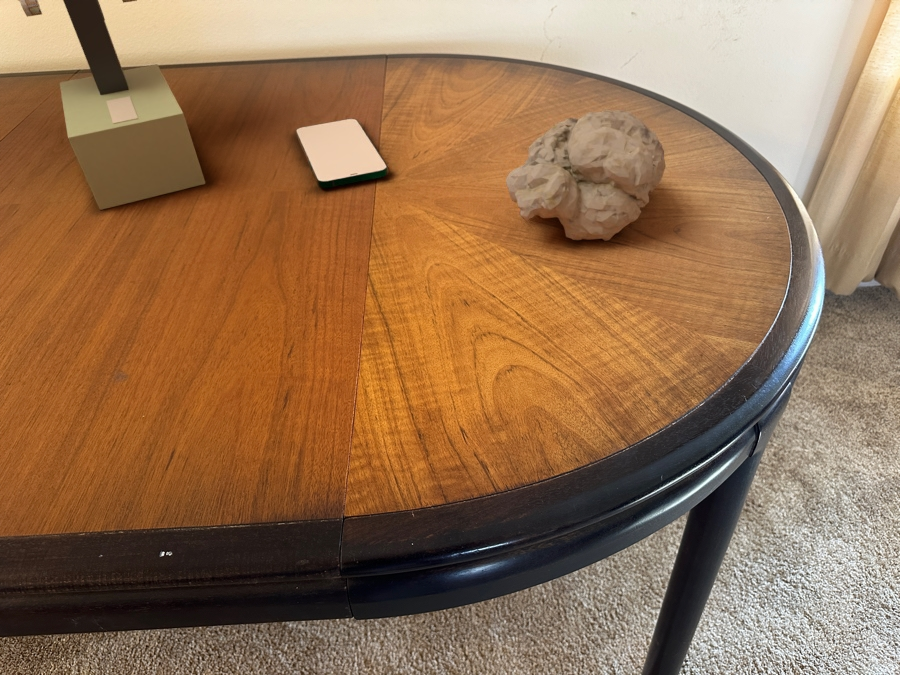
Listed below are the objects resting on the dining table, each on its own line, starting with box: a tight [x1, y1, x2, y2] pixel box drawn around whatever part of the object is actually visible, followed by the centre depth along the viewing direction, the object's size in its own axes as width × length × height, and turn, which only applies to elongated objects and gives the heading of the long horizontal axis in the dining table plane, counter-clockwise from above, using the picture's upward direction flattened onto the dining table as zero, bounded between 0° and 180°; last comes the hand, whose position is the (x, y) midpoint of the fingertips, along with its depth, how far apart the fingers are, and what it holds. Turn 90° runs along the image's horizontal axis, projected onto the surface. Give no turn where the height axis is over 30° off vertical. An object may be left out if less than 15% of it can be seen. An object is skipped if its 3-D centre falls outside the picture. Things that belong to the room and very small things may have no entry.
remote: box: [62, 0, 129, 95], centre depth 69 cm, size 3×5×13 cm, turn 26°
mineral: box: [505, 109, 666, 242], centre depth 61 cm, size 12×17×10 cm
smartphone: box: [295, 118, 389, 189], centre depth 75 cm, size 8×1×16 cm
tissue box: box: [59, 64, 206, 211], centre depth 74 cm, size 18×11×8 cm, turn 27°
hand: (82, 5), depth 68 cm, fingers open, 8 cm apart
